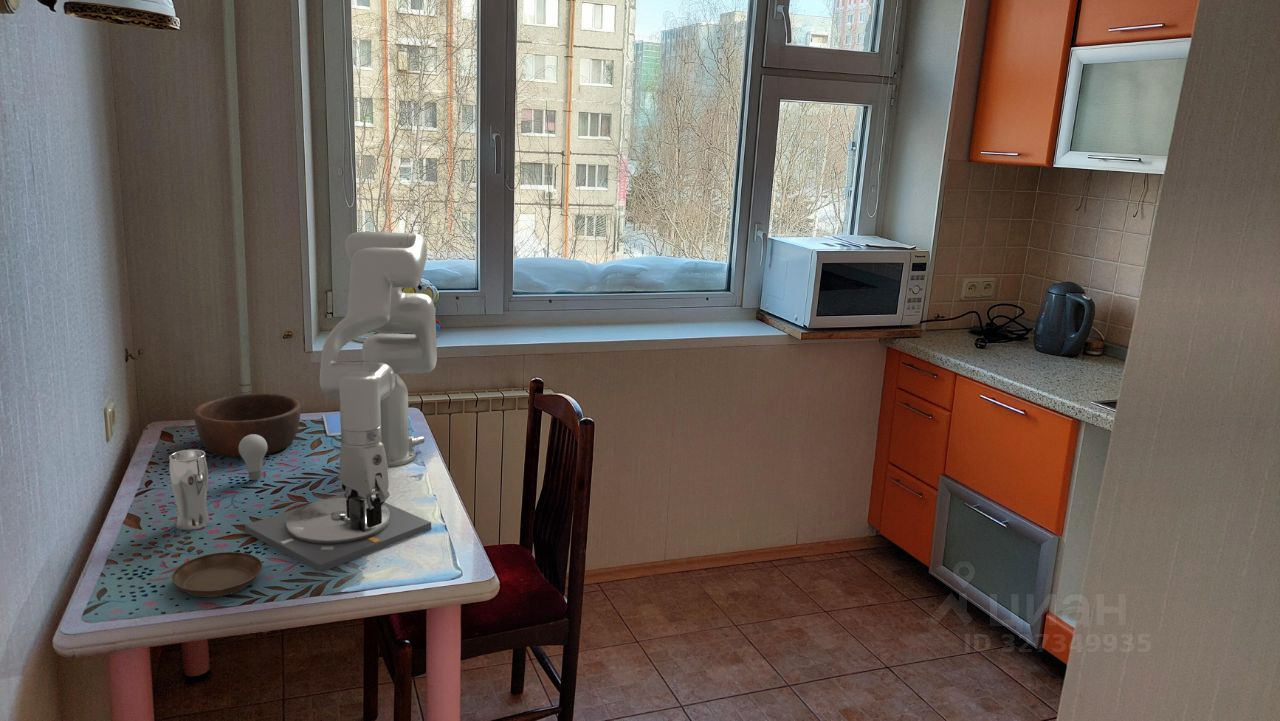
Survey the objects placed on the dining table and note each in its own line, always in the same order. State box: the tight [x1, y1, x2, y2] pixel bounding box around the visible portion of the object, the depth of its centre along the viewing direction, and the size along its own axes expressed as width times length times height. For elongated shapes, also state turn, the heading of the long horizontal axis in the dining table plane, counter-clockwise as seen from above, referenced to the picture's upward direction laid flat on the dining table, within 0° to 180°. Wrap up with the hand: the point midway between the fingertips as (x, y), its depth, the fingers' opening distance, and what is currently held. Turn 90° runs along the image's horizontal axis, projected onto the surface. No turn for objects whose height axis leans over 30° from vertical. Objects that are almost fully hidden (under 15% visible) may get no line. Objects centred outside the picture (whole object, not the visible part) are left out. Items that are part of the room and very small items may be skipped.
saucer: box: [171, 551, 264, 598], centre depth 164 cm, size 15×15×3 cm
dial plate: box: [244, 492, 432, 573], centre depth 187 cm, size 26×26×2 cm
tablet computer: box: [322, 412, 341, 437], centre depth 252 cm, size 19×13×1 cm, turn 22°
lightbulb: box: [238, 434, 268, 482], centre depth 209 cm, size 6×6×11 cm
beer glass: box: [168, 449, 210, 531], centre depth 185 cm, size 7×7×15 cm
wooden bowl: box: [193, 393, 302, 458], centre depth 232 cm, size 25×25×10 cm
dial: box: [286, 496, 390, 544], centre depth 185 cm, size 20×20×7 cm
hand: (364, 519), depth 183 cm, fingers open, 5 cm apart
